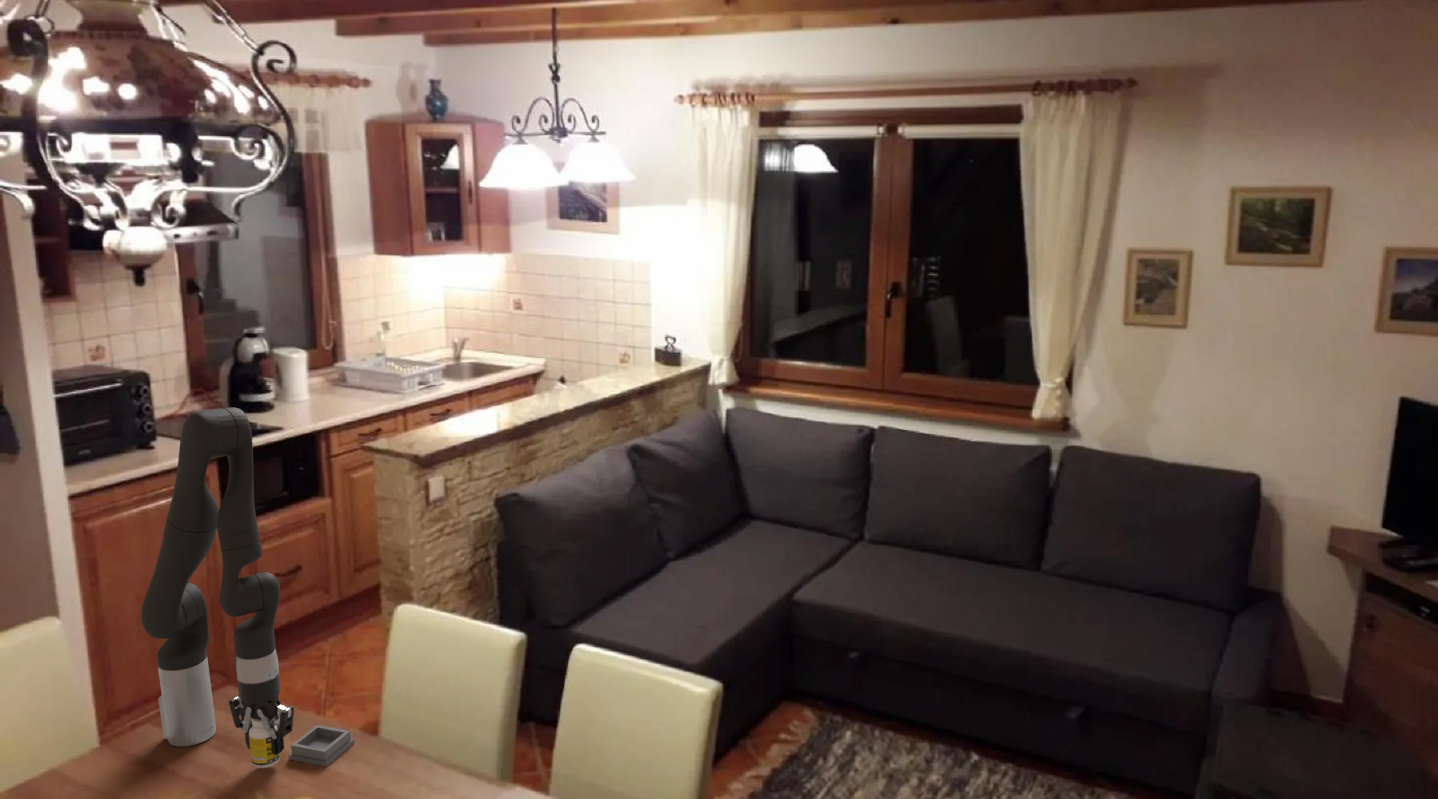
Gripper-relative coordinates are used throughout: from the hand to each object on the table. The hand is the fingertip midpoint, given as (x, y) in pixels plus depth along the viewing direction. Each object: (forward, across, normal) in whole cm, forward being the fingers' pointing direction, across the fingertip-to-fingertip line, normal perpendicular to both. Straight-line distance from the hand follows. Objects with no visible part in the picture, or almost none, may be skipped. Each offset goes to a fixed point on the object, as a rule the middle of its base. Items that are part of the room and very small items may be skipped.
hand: (265, 749), depth 213 cm
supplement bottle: (+3, 0, 0) cm, 3 cm away
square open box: (+4, +6, +8) cm, 11 cm away
